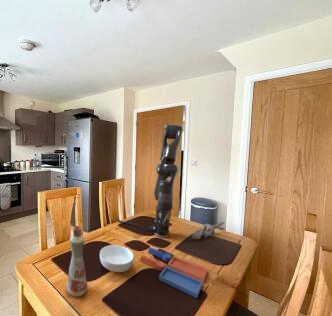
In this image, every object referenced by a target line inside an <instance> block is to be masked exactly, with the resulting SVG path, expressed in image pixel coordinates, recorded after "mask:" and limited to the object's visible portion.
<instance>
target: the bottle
mask: <svg viewBox="0 0 332 316" xmlns="http://www.w3.org/2000/svg"><path fill="white" fill-rule="evenodd" d="M72 232H73V234H72V235H71V236H70V237H69V244H70V251H71V258H70V264H69V268H68V274H67V275H68V276H67V281H66V291H67V293H68V294H69V295H70V296H71V297H74V298H75V297H76V298H77V297H81V296H83V295H85V294H86V292H87V291H88V280H87V273H86V268H85V262H84V261H85V260H84V257H83V253H84V246H85V241H86V240H85V237H84V236H83V235H82V227H81V226H80V225H75V226H73V228H72Z"/></svg>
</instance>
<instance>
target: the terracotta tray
mask: <svg viewBox="0 0 332 316" xmlns="http://www.w3.org/2000/svg"><path fill="white" fill-rule="evenodd" d="M167 267H169V268H171V269H173V270H176V271H178V272H180V273H183V274H185V275H187V276H190V277H192V278H194V279H197V280H199V281H201V282H202V283H204V282H205V280H206V277H207V275H208V270H209V269H208V268H206V267H204V266H201V265H198V264H196V263H193V262H190V261H188V260H185V259H183V258H180V257H178V256H175V255H173V257H172V259H171V260H170V262H167Z"/></svg>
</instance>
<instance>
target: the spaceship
mask: <svg viewBox="0 0 332 316" xmlns="http://www.w3.org/2000/svg"><path fill="white" fill-rule="evenodd" d="M224 224H225V222H224V221H221V222H219V223H216V224H213V225H211V224H210V223H205V224H204V225H203V227H202V226H200V227H198V229H197V230H195V231H194V232H193V234H192V236H191V238H192V239H194V240H200V239H201V238H202V237H204V238H207V237H208V236H213V235H215V233H216V231H215V230H216V229H217V228H220V227H221V226H223V225H224Z"/></svg>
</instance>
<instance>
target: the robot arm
mask: <svg viewBox="0 0 332 316" xmlns="http://www.w3.org/2000/svg"><path fill="white" fill-rule="evenodd" d="M183 128H184V127H183V126H182V125H181V124H171V123H167V124H165V125H164V126H163V131H162V141H161V142H162V144H161V152H160V157H159V162H158V164H157V167H156V174H157V177H156V182H155V187H154V193H153V197H154V199H155V201H157V204H156V206H155V216H154V217H155V219H154V220H153V225H151V226H148V227H147V228H145V227H143V226H141V225H139V224H135V223H133V222H127V221H123V220H119V219H118V218H114V219H113V220H114V221H117V222H119V223H122V224H127V225H132V226H135V227H138V228H140V229H142V230H145V231H149V230H151V231H153V234H154V235H155V236H157V237H159V238H168V237H169V235H170V223H171V222H170V221H171V220H170V219H171V218H172V217H171V215H172V210H173V205H174V204H173V203H174V184H175V180H176V177H177V175H178V173H179V167H178V165H177V164H176V160H177V153H178V149H179V146H180V143H181V140H182V136H183V130H184V129H183ZM169 140H172V141H171V142H170V143H169Z"/></svg>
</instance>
